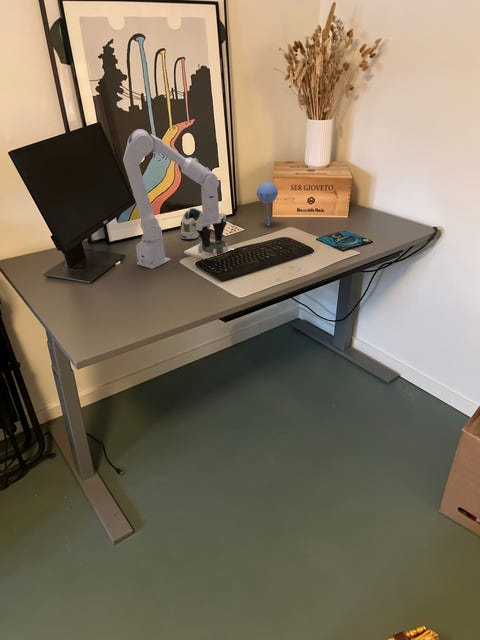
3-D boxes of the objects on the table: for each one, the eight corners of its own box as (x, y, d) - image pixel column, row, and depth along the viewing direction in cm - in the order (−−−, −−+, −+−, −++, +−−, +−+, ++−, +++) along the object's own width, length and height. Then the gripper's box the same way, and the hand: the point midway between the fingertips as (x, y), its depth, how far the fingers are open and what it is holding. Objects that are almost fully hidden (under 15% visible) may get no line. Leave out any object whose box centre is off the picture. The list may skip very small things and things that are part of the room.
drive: (225, 251, 177) (225, 240, 174) (219, 255, 174) (218, 244, 172) (209, 247, 181) (208, 236, 179) (202, 250, 178) (201, 240, 176)
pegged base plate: (218, 263, 170) (217, 253, 168) (184, 253, 179) (183, 244, 177) (238, 252, 178) (238, 243, 177) (205, 243, 187) (204, 235, 185)
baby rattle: (254, 223, 205) (253, 180, 196) (273, 220, 207) (273, 178, 198) (261, 229, 198) (260, 185, 189) (280, 227, 200) (281, 183, 191)
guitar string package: (342, 250, 175) (316, 238, 186) (342, 253, 176) (315, 241, 187) (372, 240, 182) (345, 229, 193) (372, 244, 182) (344, 233, 194)
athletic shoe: (213, 221, 209) (205, 194, 203) (205, 241, 189) (195, 212, 184) (191, 226, 211) (182, 200, 205) (181, 247, 192) (171, 219, 186)
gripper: (205, 214, 162) (208, 252, 169) (231, 203, 172) (233, 239, 179) (190, 211, 166) (193, 248, 173) (216, 200, 176) (218, 235, 183)
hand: (212, 243), depth 176 cm, fingers open, 6 cm apart
